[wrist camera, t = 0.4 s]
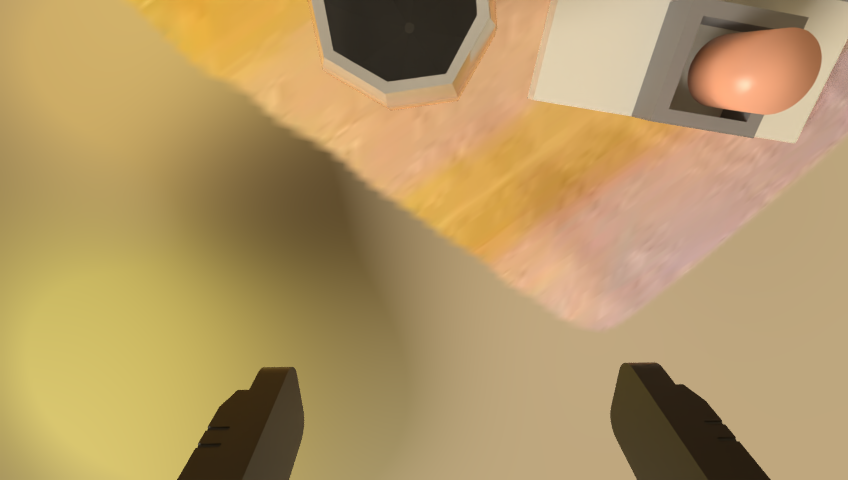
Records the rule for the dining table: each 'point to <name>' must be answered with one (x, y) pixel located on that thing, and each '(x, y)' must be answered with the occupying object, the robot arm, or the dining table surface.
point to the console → (671, 57)
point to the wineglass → (403, 46)
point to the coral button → (755, 70)
